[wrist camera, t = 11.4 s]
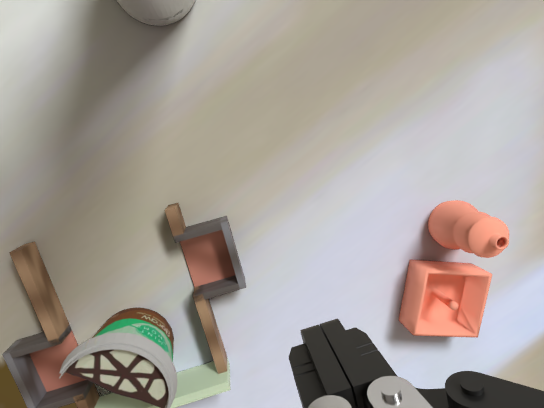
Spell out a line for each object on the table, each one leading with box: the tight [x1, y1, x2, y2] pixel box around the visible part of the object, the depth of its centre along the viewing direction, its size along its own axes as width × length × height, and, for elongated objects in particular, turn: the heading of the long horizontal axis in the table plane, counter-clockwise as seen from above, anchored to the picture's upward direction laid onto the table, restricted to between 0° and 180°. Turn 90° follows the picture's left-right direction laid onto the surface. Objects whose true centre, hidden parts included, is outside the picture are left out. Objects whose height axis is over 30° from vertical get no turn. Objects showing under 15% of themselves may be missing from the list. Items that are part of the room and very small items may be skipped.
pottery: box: [399, 200, 509, 337], centre depth 46 cm, size 18×10×10 cm, turn 174°
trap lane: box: [2, 203, 246, 408], centre depth 43 cm, size 23×29×5 cm
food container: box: [59, 308, 177, 408], centre depth 41 cm, size 12×6×10 cm, turn 60°
